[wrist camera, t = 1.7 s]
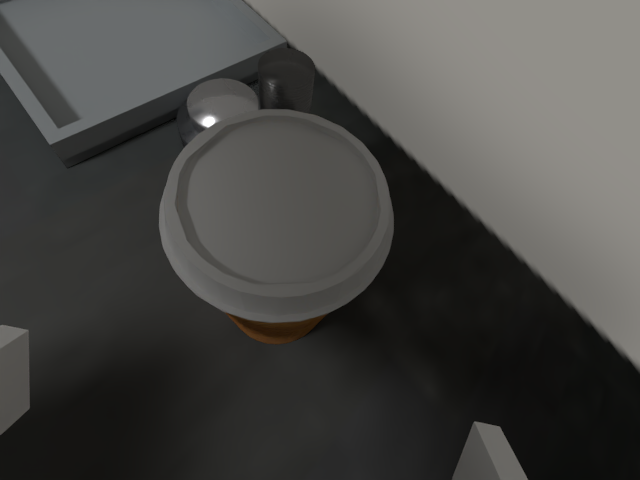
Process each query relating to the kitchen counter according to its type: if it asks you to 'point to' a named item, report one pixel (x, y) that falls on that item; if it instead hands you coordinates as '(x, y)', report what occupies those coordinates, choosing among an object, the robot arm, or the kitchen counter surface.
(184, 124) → the crank base
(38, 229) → the kitchen counter surface
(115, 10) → the tray
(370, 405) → the kitchen counter surface
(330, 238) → the disposable coffee cup
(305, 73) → the crank
